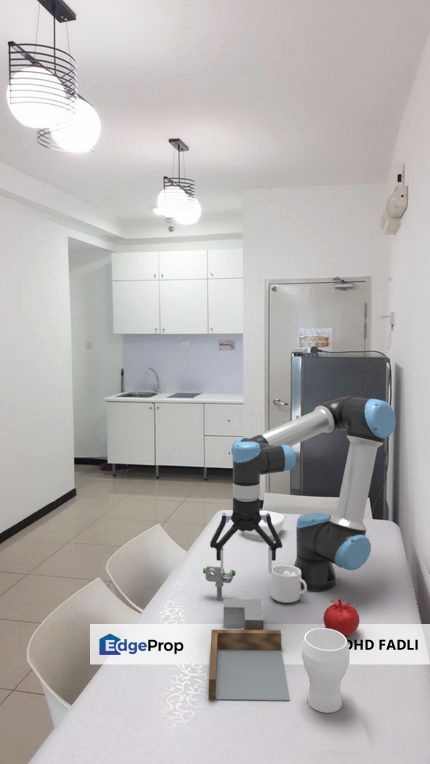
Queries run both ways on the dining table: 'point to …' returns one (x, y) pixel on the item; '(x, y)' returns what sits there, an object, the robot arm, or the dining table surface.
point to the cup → (325, 667)
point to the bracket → (243, 613)
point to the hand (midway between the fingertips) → (245, 571)
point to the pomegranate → (341, 618)
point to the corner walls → (239, 647)
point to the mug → (286, 583)
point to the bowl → (266, 526)
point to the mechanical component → (218, 578)
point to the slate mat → (251, 675)
